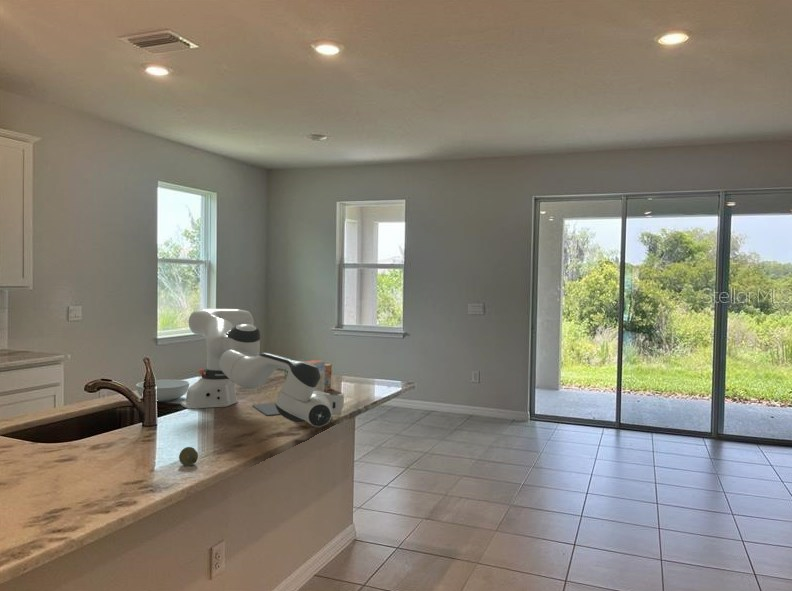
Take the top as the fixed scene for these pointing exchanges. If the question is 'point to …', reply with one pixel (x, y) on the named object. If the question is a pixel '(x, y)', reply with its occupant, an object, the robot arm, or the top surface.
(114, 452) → the top surface
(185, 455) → the lime
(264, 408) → the mat
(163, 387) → the serving bowl
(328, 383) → the stack of blocks
